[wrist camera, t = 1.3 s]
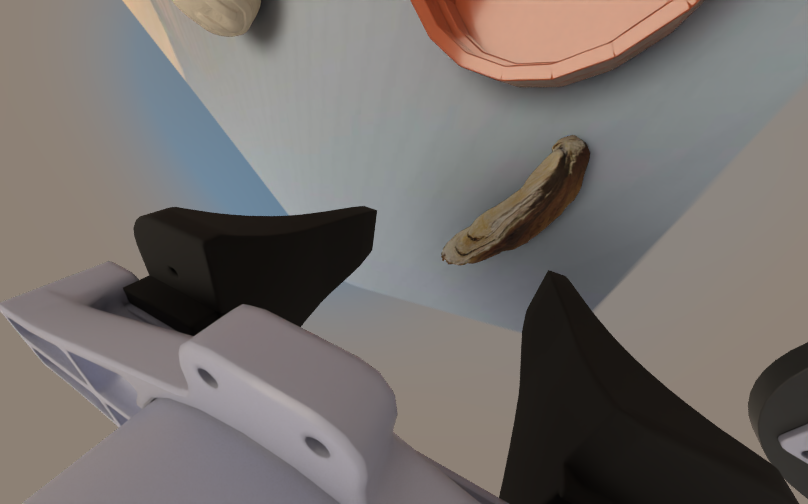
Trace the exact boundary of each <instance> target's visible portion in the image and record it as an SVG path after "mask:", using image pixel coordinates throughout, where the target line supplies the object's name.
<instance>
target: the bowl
mask: <svg viewBox="0 0 808 504" xmlns="http://www.w3.org/2000/svg"><path fill="white" fill-rule="evenodd" d="M704 1H705V0H411V2H412V4H413V6H414V8H415V10H416V12H417V14H418V16H419V18H420V20H421V22H422V24H423V26H424V28H425V30H426V32H427V34H428V36H429V37H430V39H431V40H432V41H433V42H434V43H435V44H437V45H438V46H439V47H440V48H441V49H442V50H443V51H444V52H445V53H446V54H447V55H448V56H449V57H450V58H451V59H452V60H454V61H455V62H456V63H457V64H458V65H459V66H461V67H463V68H466V69H468V70H471V71H474V72H476V73H479V74H482V75H484V76H487V77H490V78H493V79H495V80H498V81H501V82H504V83H507V84H510V85H513V86H516V87H561V86H566V85H569V84H572V83H575V82H578V81H581V80H584V79H587V78H590V77H593V76H596V75H599V74H602V73H605V72H608V71H611V70H612V69H615V68H617V67H618V66H620V65H621V64H623V63H624V62H626V61H628V60H629V59H631V58H632V57H634V56H636V55H637V54H639V53H640V52H642V51H644V50H645V49H647V48H648V47H650V46H652V45H653V44H655V43H656V42H658V41H660V40H661V39H663V38H664V37H666V36H668V35H669V34H670V33H672V32H673V31H674V30H675V29H676V28H677V27H678V26H679V25H680V24H681V23H682V22H683V21H684V20H685V19H686V18H688V17H689V16H690V15H691V14H692V13H693V12H694V11H695V10H696V9H697V8H698V7H699V6H700V5H701V4H702V3H703V2H704Z"/></svg>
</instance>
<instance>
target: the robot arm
mask: <svg viewBox="0 0 808 504" xmlns="http://www.w3.org/2000/svg"><path fill="white" fill-rule="evenodd" d="M376 215H377V210H374V209H371V208H368V207H365V206H359V207H350V208H344V209H338V210H332V211H326V212H318V213H311V214H303V215H291V216H242V215H229V214H219V213H210V212H203V211H197V210H191V209H184V208H179V207H171V208H167V209H163V210H160V211H157V212H154V213H150V214H147V215H143V216H140V217H139V218H138V219H137V220H136V222H135V225H134V236H135V239H136V242H137V246H138V248H139V251H140V253H141V256H142V258H143V261H144V263H145V266H146V268H147V270H148V273H149V275H150V276H147V277H145V278H143V279H141V280H139V279H138V278H137V277H136V276H135V275H134V274H133V273H132V272H130V271H128V270H126V269H125V268H123V267H121V266H119V265H117V264H116V263H114V262H110V261H107V262H105V263H102V264H99V265H97V266H94V267H92V268H89V269H86V270H84V271H81V272H78V273H76V274H73V275H71V276H68V277H65V278H63V279H60V280H58V281H55V282H52V283H50V284H47V285H44V286H42V287H39V288H36V289H34V290H31V291H28V292H26V293H23V294H21V295H18V296H15V297H13V298H10V299H8V300H5V301H2V302H0V312H1V313H2V314H3V315H4V317H5V318H6V319H7V320H8V321H9V323H10V324H11V325H12V326H13V327H14V329H15V330H16V331H17V332H18V334H19V335H20V336H21V337H22V338H23V339H24V341H25V342H26V343H27V344H28V346H29V347H30V348H31V349H32V350H33V352H34V353H35V354H36V355H37V357H38V358H39V359H40V360H41V361H42V362H43V364H44V365H46V366H47V367H48V368H49V369H50V370H52V371H53V372H54V373H55V374H57V375H58V376H59V377H61V378H62V379H63V380H64V381H65V382H67V383H68V384H69V385H70V386H72V387H73V388H74V389H75V390H76V391H78V392H79V393H80V394H81V395H82V396H84V397H85V398H86V399H87V400H88V401H89V402H90V403H92V404H93V405H94V406H95V407H96V408H97V409H99V410H100V411H101V412H102V413H103V414H104V415H106V416H107V417H108V418H109V419H110V420H111V421H112V422H113V423H115V424H116V425H117V426H118V427H119V428H118V429H116V430H115V431H114V432H113V433H111V434H110V435H109V436H107V437H106V438H105V439H103V440H102V441H101V442H100V443H98V444H97V445H96V446H95V447H93V448H92V449H91V450H89V451H88V452H87V453H85V454H84V455H83V456H82V457H81V458H79V459H78V460H76V461H75V462H74V463H73V464H71V465H70V466H69V467H67V468H66V469H65V470H64V471H62V472H61V473H60V474H59V475H57V476H56V477H55V478H53V479H52V480H51V481H50V482H48V483H47V484H46V485H44V486H43V487H42V488H41V489H39V490H38V491H37V492H36V493H34V494H33V495H32V496H30V497H29V498H28V499H26V500H25V501H24V502H23V503H21V504H799V503H798V501H797V499H796V498H795V496H794V494H793V493H792V491H791V489H790V488H789V486H788V485H787V483H786V481H785V480H784V478H783V476H782V475H781V473H780V471H779V470H778V469H777V467H775V466H774V465H772V464H771V463H769V462H768V461H766V460H765V459H763V458H762V457H761V456H759V455H757V454H756V453H755V452H753V451H752V450H750V449H749V448H748V447H746V446H745V445H743V444H742V443H740V442H739V441H737V440H736V439H734V438H733V437H731V436H730V435H729V434H727V433H726V432H724V431H722V430H721V429H720V428H718V427H717V426H716V425H714V424H713V423H712V422H710V421H709V420H708V419H706V418H705V417H704V416H702V415H701V414H700V413H699V412H697V411H696V410H694V409H693V408H692V407H691V406H689V405H688V404H687V403H685V402H684V401H683V400H682V399H680V398H679V397H678V396H677V395H675V394H674V393H673V392H672V391H670V390H669V389H668V388H667V387H665V386H664V385H663V384H662V383H661V382H660V381H659V380H657V379H656V378H655V377H654V376H653V375H652V374H651V373H650V372H648V371H647V370H646V369H645V368H644V367H643V366H642V365H641V364H640V363H639V362H637V361H636V360H635V359H634V358H633V357H632V356H631V355H630V354H629V353H628V352H627V351H626V350H625V349H624V348H623V347H622V346H621V345H620V344H619V342H618V341H617V340H616V339H615V338H614V337H613V336H612V335H611V334H610V333H609V332H608V330H607V329H606V328H605V327H604V325H603V324H602V323H601V322H600V321H599V320H598V318H597V317H596V316H595V315H594V313H593V312H592V311H591V309H590V308H589V307H588V305H587V304H586V303H585V301H584V300H583V299H582V297H581V296H580V294H579V293H578V292H577V290H576V289H575V287H574V286H573V285H572V283H571V282H570V281H569V279H568V278H567V277H566V276H564V275H561V274H558V273H555V272H552V271H549V270H548V272H547V273H546V275H545V277H544V279H543V281H542V283H541V285H540V286H539V288H538V290H537V292H536V294H535V296H534V297H533V299H532V301H531V303H530V305H529V307H528V309H527V311H526V315H525V320H524V325H523V330H522V345H521V369H520V388H519V396H518V402H517V409H516V415H515V421H514V427H513V432H512V437H511V443H510V448H509V453H508V458H507V463H506V468H505V473H504V478H503V482H502V487H501V491H500V496H499V498H498V497H496V496H495V495H493V494H491V493H489V492H488V491H486V490H484V489H482V488H481V487H479V486H477V485H475V484H474V483H472V482H470V481H468V480H467V479H465V478H463V477H461V476H460V475H458V474H456V473H455V472H453V471H451V470H449V469H448V468H446V467H444V466H442V465H441V464H439V463H437V462H435V461H434V460H432V459H430V458H428V457H426V456H425V455H423V454H421V453H420V452H418V451H416V450H414V449H413V448H412V447H411V446H410V445H408V444H407V443H406V442H405V441H404V440H402V439H401V438H400V437H399V436H397V435H396V434H395V433H394V432H393V428H394V425H395V421H396V418H397V407H396V400H395V395H394V393H393V390H392V389H391V388H390V386H389V385H388V383H387V382H386V381H385V379H384V378H383V377H382V375H381V374H380V373H379V371H377V370H376V369H374V368H373V367H372V366H370V365H369V364H368V363H366V362H365V361H363V360H362V359H361V358H359V357H358V356H356V355H354V354H352V353H350V352H348V351H345V350H344V349H342V348H340V347H338V346H336V345H334V344H332V343H330V342H328V341H326V340H324V339H322V338H320V337H319V336H317V335H315V334H313V333H311V332H309V331H307V330H305V329H303V328H301V326H302V325H303V323H304V322H305V321H306V319H307V318H308V317H309V316H310V315H311V314H312V312H313V311H314V310H315V309H316V308H317V307H318V305H319V304H320V303H321V302H322V301H323V300H324V299H325V298H326V297H327V296H328V295H329V294H330V293H331V292H332V291H333V290H334V289H335V288H336V287H338V286H339V285H340V284H341V283H342V282H343V281H344V280H345V279H346V278H347V277H348V276H350V275H351V274H352V273H353V272H354V271H355V270H356V269H357V268H358V267H359V266H360V265H361V264H362V263H363V261H364V260H365V259H366V258H367V256H368V255H369V254H370V252H371V251H372V247H373V239H374V231H375V223H376ZM778 441H779V442H780V444H781V446H782V448H783V449H785V450H786V451H787V452H789V453H791V454H792V455H794V456H796V457H797V458H799V459H801V460H802V461H804V462H806V463H807V464H808V452H803V451H808V424H806V425H804V426H801V427H799V428H796V429H794V430H791V431H789V432H786V433H784V434H781V435H780V436H779V437H778Z"/></svg>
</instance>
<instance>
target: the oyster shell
mask: <svg viewBox="0 0 808 504" xmlns="http://www.w3.org/2000/svg"><path fill="white" fill-rule="evenodd" d="M589 158H590V151H589V149H588V146H587V144H586V143H585V142H584V141H582V140H581V139H579V138H577V136H575V135H571V136H567V137H564V138H562V139H560V140H558V141H557V143H556V144H555V145H554V146H553V147H552V154H550V155H549V156H548V157H547V158H546V159H545V160H544V161H543V162H542V163H541V164H540V165H539V166H538V167H537V168H536V169H535V171H534V172H533V173H532V174H531V175H530V176H529V178H528V179H527V180H526V182H525V184H524V186H523V187H522V188H521V189H520V190H518V191H517V192H515V193H514V194H513V195H511V196H510V197H509V198H508V199H506V200H505V201H503V202H501V203H500V204H498V205H497V206H495V207H494V208H491V209H489V210H488V211H486V212H485V213H483V214H482V215H480V216H479V217H478V218H477V219H476V220H475V221H474V222H473V224H472V225H471V226H470V227H468V228H466V229H465V230H462V231H460V232H459V233H457V234H456V235H455V236H454V237H453V238H452V239H451V240H450V241H449V242H448V243H447V244H446V246H444V248H443V252H442V253H441V254H442V256H441V257H442V258H443V259H442V260H443V261H444V259H445V260H446V262H447V263H448V264H456V265H465V264H467V263H471V264H473V263H477V262H480V261H483V260H485V259H487V258H489V257H492V256H494V255H496V254H499V253H500V252H502V251H506V250H513V249H515V248H517V247H519V246H521V245H523V244H525V243H528V241H529V240H531V239H532V238H534V237H535V236H536V235H538V234H539V233H540V232H541V231H543V230H544V229H545V228H546V227H547V226H548V225H549V224H550V223H551V222H553V221H554V220H555V219H556V218H557V217H558V216H560V215H561V214H562V212H563V211H564V209H565V208H566V207H567V206H568V205H569V204H570V203H571V202H572V201H574V199H575V198H576V196H577V194H578V193H579V191H580V189H581V186H582V181H583V177H584V174H585V171H586V168H587V165H588V162H589Z"/></svg>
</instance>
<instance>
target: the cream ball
mask: <svg viewBox="0 0 808 504" xmlns="http://www.w3.org/2000/svg"><path fill="white" fill-rule="evenodd" d="M172 1H173V3H174V4H175V5H176V6H177V7H178V8H179V9H180V10H181V11H182V12H183V13H184V14H185V15H187V16H188V17H189V18H191V19H192V20H193V21H194V22H196V23H197V24H199V25H200V26H202V27H203V28H204V29H206V30H207V31H209V32H211V33H213V34H216V35H219V36H226V37H233V36H239V35H242V34H244V33H246V32H247V31H248V30H249V28H250V26H251V24H252V22H253V21H254V19H255V18H256V16H257V13H258V11H259V8H260V5H261V0H172Z"/></svg>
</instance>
